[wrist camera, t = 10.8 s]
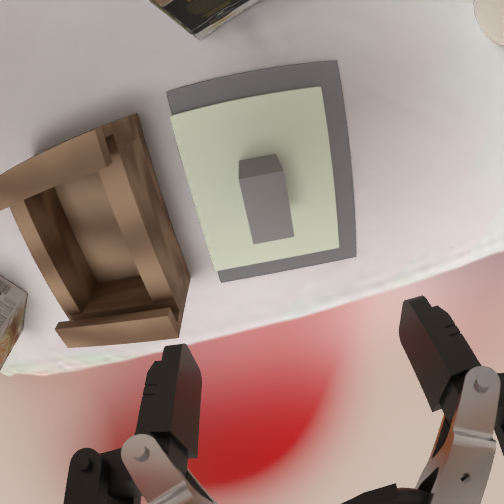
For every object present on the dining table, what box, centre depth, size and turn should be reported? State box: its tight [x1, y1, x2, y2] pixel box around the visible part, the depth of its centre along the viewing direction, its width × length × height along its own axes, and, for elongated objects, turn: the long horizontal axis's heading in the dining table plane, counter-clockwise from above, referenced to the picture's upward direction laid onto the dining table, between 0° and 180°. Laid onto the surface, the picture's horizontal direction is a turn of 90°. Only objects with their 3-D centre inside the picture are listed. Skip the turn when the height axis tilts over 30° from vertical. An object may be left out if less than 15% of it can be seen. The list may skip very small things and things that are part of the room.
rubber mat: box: [166, 60, 356, 283], centre depth 27 cm, size 19×14×1 cm
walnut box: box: [0, 113, 190, 348], centre depth 24 cm, size 17×12×8 cm
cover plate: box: [170, 86, 339, 271], centre depth 24 cm, size 15×12×6 cm
